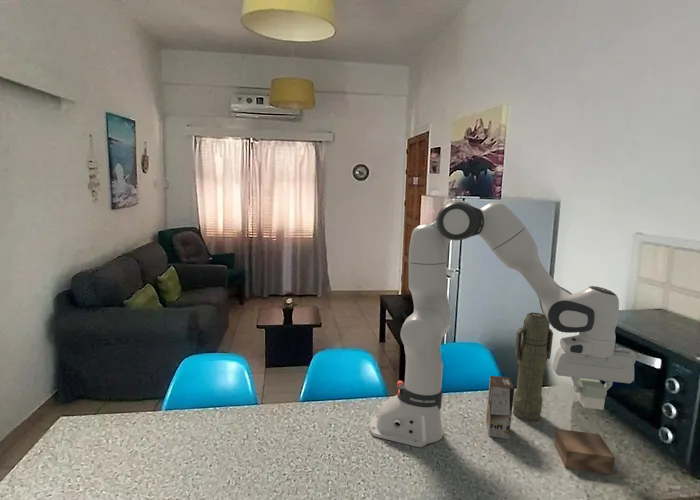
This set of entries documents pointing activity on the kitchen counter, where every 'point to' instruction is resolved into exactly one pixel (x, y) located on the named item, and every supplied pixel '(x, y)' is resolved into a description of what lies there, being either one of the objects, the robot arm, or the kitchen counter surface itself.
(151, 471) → the kitchen counter surface
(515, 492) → the kitchen counter surface
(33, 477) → the kitchen counter surface
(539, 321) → the thermos
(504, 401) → the coffee box
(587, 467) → the walnut stand
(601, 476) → the kitchen counter surface
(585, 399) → the block
